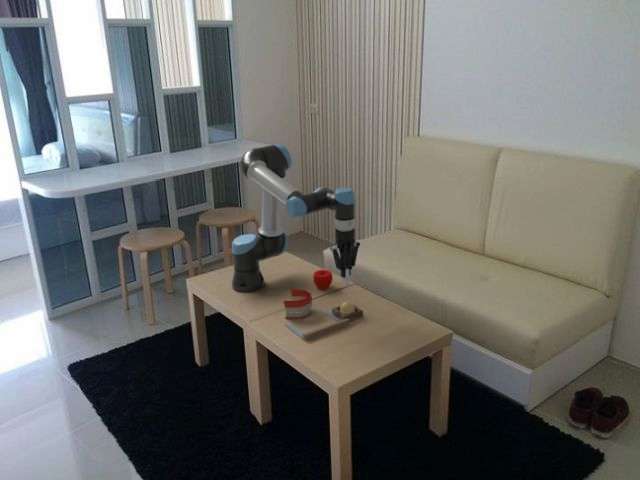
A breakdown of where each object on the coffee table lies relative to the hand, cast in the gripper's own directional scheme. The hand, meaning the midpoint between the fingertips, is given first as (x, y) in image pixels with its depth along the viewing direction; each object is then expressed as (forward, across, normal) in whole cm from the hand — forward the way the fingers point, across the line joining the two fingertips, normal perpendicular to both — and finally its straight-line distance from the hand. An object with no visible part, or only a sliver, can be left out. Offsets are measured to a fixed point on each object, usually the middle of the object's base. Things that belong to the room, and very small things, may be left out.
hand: (345, 283), depth 229 cm
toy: (+15, -14, +13) cm, 24 cm away
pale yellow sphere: (+14, 0, -1) cm, 14 cm away
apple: (+15, +7, +28) cm, 33 cm away
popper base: (+14, 0, -1) cm, 14 cm away
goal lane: (+14, -14, +1) cm, 20 cm away
